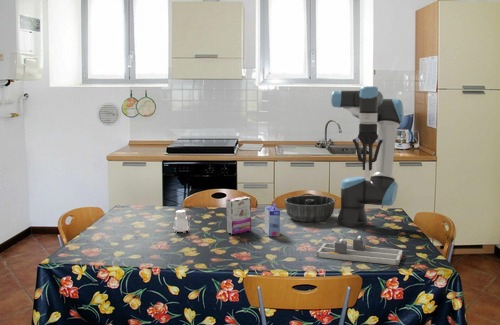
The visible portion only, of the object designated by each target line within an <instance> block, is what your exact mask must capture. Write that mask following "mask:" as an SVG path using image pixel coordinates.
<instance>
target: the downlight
mask: <svg viewBox="0 0 500 325" xmlns="http://www.w3.org/2000/svg"><path fill="white" fill-rule="evenodd" d="M190 224H191V222H190V221H188V217H187V215H186V210H185V209H179V210H176V211H175V218H174V223H173V225H172V226H173V228H175V230H178V231H184V230H188V229H189V230H190Z"/></svg>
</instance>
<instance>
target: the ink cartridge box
mask: <svg viewBox="0 0 500 325" xmlns="http://www.w3.org/2000/svg"><path fill="white" fill-rule="evenodd" d="M276 206H277V203H275V202H273V204H272V206H265V207H264V229H263V230H264V231H263V232H265V234H266V235H267V236H268V237H280V234H281V231H280V230H281V229H280V228H281V211H280V209H278V207H276Z"/></svg>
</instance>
